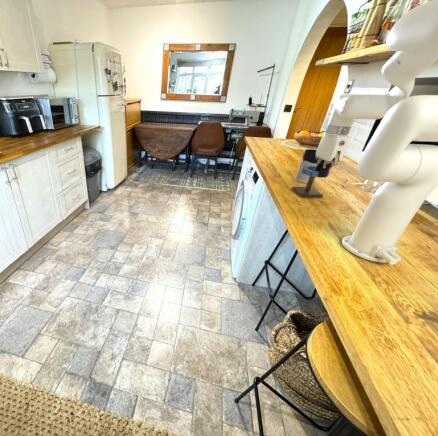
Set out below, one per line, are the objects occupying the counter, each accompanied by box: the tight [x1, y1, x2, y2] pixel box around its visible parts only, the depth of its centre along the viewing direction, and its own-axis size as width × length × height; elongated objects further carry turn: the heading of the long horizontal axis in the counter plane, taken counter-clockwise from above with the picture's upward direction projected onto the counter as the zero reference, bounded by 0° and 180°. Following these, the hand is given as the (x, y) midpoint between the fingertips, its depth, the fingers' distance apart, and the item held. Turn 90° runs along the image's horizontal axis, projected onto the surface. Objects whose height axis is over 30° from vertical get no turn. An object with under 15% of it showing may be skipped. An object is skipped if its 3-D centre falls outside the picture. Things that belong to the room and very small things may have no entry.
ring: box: [301, 166, 331, 178], centre depth 104 cm, size 10×10×2 cm
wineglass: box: [343, 177, 383, 193], centre depth 112 cm, size 7×7×12 cm
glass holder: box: [293, 148, 331, 184], centre depth 119 cm, size 9×14×15 cm, turn 38°
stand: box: [291, 169, 324, 199], centre depth 107 cm, size 9×9×12 cm
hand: (319, 175), depth 101 cm, fingers closed on ring, 2 cm apart
